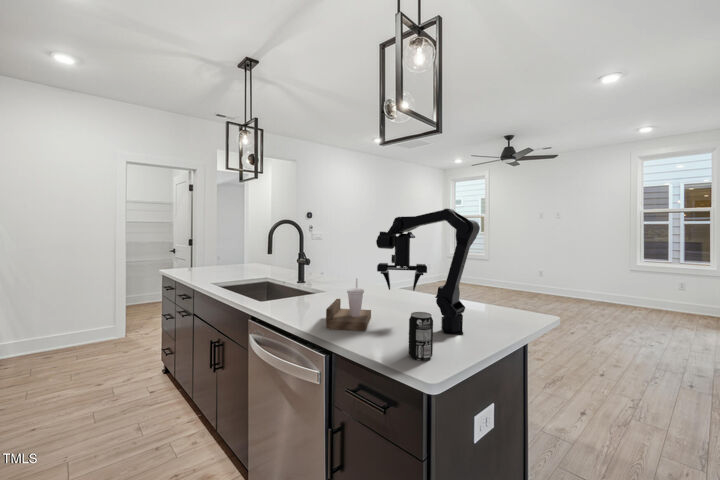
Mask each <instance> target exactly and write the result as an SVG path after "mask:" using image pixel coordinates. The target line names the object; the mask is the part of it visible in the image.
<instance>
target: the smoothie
mask: <svg viewBox="0 0 720 480" xmlns="http://www.w3.org/2000/svg"><path fill="white" fill-rule="evenodd" d="M346 293H347V298H348V307H349V308H348V309H350V316H351V317H359V316H360V314H361V310H362V306H363V298H364V293H365V289H363V288H358V278H355V287H354V288H348V289H347V290H346Z"/></svg>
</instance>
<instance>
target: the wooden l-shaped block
mask: <svg viewBox="0 0 720 480" xmlns="http://www.w3.org/2000/svg"><path fill="white" fill-rule="evenodd" d="M371 319H372V309H361V314H360V316H359V317H351V316H350V308H341V298H336V299H334V300H333V302H332V303H330V305H329V306H328V307H326V309H325V330H335V331H336V330H338V331H356V332H366V331H367V329H368V326H369V324H370V321H371Z"/></svg>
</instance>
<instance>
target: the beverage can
mask: <svg viewBox="0 0 720 480" xmlns="http://www.w3.org/2000/svg"><path fill="white" fill-rule="evenodd" d="M433 337H434V319H433V318H432V314H431V313H429V312H426V311H414V312H413V311H412V312H411V314H410V317H409V318H408V355H409V356H410V358H411V359H413V360H416V361H428V360H430V359H431V358H432V356H433V350H434V349H433V348H434V347H433V345H434V343H433V340H434V338H433Z"/></svg>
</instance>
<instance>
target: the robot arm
mask: <svg viewBox="0 0 720 480" xmlns="http://www.w3.org/2000/svg"><path fill="white" fill-rule="evenodd" d="M445 221H446V222H447V223H448V224H449V225H450V226H451V227H452V228H454V229H455V241H456V245H455V249H454V251H453V252H454V253H453V256H452V260H451V263H450V267H449V269H448V272H447V277H446V281H445V283H444V285H440V286H438V287H437V294H436V295H435V296H434V298H435V299H436V301H435V302H436V304H437V307H438V308H439V310H440V313H441V315H442V316H441V319H440V320H441V322H440V323H441V330H442V333H444V334H447V335H448V334H449V335H450V334H451V335H464V332H463V324H464V323H463V322H464V319H463V317H464V315H463V313H464V312H465V310H466V306H465V305H464V304H463V303H462V301H461V300H460V295H461V294H460V283H461V279H462V276H463V272H464V269H465V265H466V262H467V259H468V255H469V253H470V248H471V246H472V245H473V243H474V241H475V240H476V239H477V236H479V233H480V229H481V227H480V224H479V222H477V221H476V220H474V219H473V220H472V219H469V218H467V217H465V216H463V215H462V214H460V213H459V212H456V210H454V209H452V208H444V209H441V210H437V211H433V212H428V213H424V214H420V215H419V214H418V215H414V216H412V215H411V216H396V217H395V218H394V219H393V222H392V225H391V226H390V228H389V229H388V230H387V231H379V234H378V235H377V238H376V239H375V244H376V246H377V248H378V249H385V250H386V249H387V250H393V249H394V254H391V259H390V261H391V262H390V263H391V264H389V263H388V262H379V263H378V264H377V265H376V271H377V272H378V273H379V272H380V275H383V277H384V279H385V282H386V285H387V288H388V290H391V280H390V271H415V273H414V279H413V284H412V290H413V292H414V291H415V289H416V287H417V284H418V282H419V280H420V277H421V276H424V274H426V273H428V266H427V265H426V263H424V264H423V263H416V264H415V265H410V262H411V259H410V258H411V257H410V255H411V253H410V252H411V239H415V238H416V236H415V235H414V233H413V232H412V231H413V230H416V229H417V228H418V227H421V226H426V225H431V224H437V223H440V222H441V223H442V222H445Z"/></svg>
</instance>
